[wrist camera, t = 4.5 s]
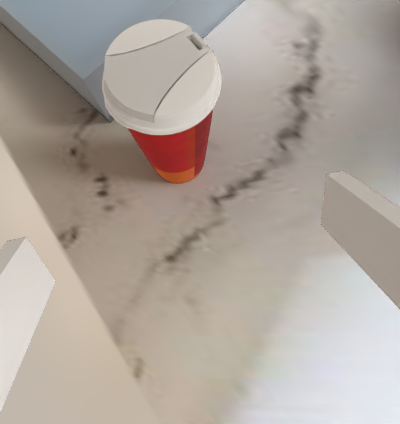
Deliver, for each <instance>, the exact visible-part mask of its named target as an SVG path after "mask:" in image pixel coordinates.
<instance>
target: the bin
mask: <svg viewBox="0 0 400 424" xmlns="http://www.w3.org/2000/svg"><path fill="white" fill-rule="evenodd" d="M244 1H245V0H0V23H1V24H2V25H3V26H4V27H5V28H7V29H8V30H9V31H10V32H11V33H12V34H13V35H14V36H15V37H17V38H18V39H19V40H20V41H21V42H22V43H23V44H24V45H25V46H26V47H28V48H29V49H30V50H31V51H32V52H33V53H34V54H35V55H36V56H38V57H39V58H40V59H41V60H42V61H43V62H44V63H45V64H46V65H47V66H49V67H50V68H51V69H52V70H53V71H54V72H55V73H56V74H57V75H59V76H60V77H61V78H62V79H63V80H64V81H65V82H66V83H67V84H68V85H70V86H71V87H72V88H73V89H74V90H75V91H76V92H77V93H78V94H80V95H81V96H82V97H83V98H84V99H85V100H86V101H87V102H88V103H89V104H91V105H92V106H93V107H94V108H95V109H96V110H97V111H98V112H99V113H101V114H102V115H103V116H104V117H105V118H106V119H107V120H108V121H109V122H111V121H112V120H114V118H113V117H112V116H111V115H110V113H109V112H108V110H107V109H106V107H105V101H104V95H103V91H102V79H103V73H104V63H105V55H106V52H107V50H108V48H109V46H110V45H111V43H112V42H113V41H114V40H115V38H116V37H118V36H119V35H120V34H121V33H122V32H123V31H125V30H126V29H128V28H129V27H131V26H133V25H135V24H138V23H141V22H144V21H148V20H156V19H168V20H174V21H178V22H181V23H184V24H186V25H188V26H190V27H191V29H192V31H193V32H194V33H195V32H196V33H197V34H198V35H199V36H200V37H201V38H202V39H203V38H204V37H205V36H206V35H207V34H208V33H209V32H210V31H212V30H213V29H214V28H215V27H216V26H217V25H218V24H219V23H220V22H221V21H223V20H224V19H225V18H226V17H227V16H228V15H229V14H230V13H231V12H233V11H234V10H235V9H236V8H237V7H238V6H239V5H240V4H241V3H242V2H244Z"/></svg>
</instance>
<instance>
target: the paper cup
mask: <svg viewBox="0 0 400 424" xmlns="http://www.w3.org/2000/svg"><path fill="white" fill-rule="evenodd" d="M221 86H222V76H221V70H220V67H219V64H218V61H217V59H216V57H215V56H214V54H213V51H212V50H210V49H209V47H208V46H207V43H206V42H205V41H204V40H203V39H202V38H201V37H200V36H199V35H198V34H197V33H196V32H195V33H194V32H193V31H192V29H191V27H190V26H188V25H186V24H184V23H181V22H178V21H174V20H168V19H156V20H148V21H144V22H141V23H138V24H135V25H133V26H131V27H129V28H128V29H126V30H125V31H123V32H122V33H121V34H120V35H119V36H118V37H116V38H115V40H114V41H113V42H112V43H111V45H110V46H109V48H108V50H107V52H106V55H105V63H104V73H103V79H102V91H103V95H104V101H105V107H106V109H107V110H108V112H109V113H110V115H111V116H112V117H113V118H114V119H115V120H116V121H117V122H118V123H119V124H121V125H122V126H123V127H126V128H128V129H129V131H130V132H131V134H132V136H133V137H134V139H135V140H136V142H137V143H138V145H139V146H140V148H141V149H142V151H143V152H144V154H145V155H146V157H147V158H148V160H149V161H150V163H151V164H152V166H153V167H154V169H155V170H156V171H157V173H158V174H159V175H160V176H161V177H162V178H164V179H165V180H167V181H169V182H172V183H185V182H188V181H190V180H192V179H194V178H195V177H196V176H197V175H198V174H199V173H200V171H201V169H202V167H203V164H204V159H205V154H206V149H207V143H208V137H209V131H210V124H211V118H212V112H213V108H214V106H215V104H216V103H217V100H218V98H219V95H220V91H221Z"/></svg>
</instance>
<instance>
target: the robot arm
mask: <svg viewBox="0 0 400 424" xmlns="http://www.w3.org/2000/svg"><path fill="white" fill-rule="evenodd" d="M321 225H322V226H323V227H324V229H325V230H326V231H327V232H328V233H329V234H330V235H331V236H332V237H333V238H334V239H335V240H336V241H337V242H338V244H339V245H340V246H341V247H342V248H343V249H344V250H345V251H346V252H347V253H348V254H349V255H350V256H351V257H352V259H353V260H354V261H355V262H356V263H357V264H358V265H359V266H360V267H361V268H362V269H363V270H364V271H365V272H366V274H367V275H368V276H369V277H370V278H371V279H372V280H373V281H374V282H375V283H376V284H377V285H378V286H379V287H380V289H381V290H382V291H383V292H384V293H385V294H386V295H387V296H388V297H389V298H390V299H391V300H392V301H393V302H394V304H395V305H396V306H397V307H398V308H399V309H400V207H398V206H397V205H395V204H394V203H392V202H391V201H389V200H388V199H386V198H385V197H383V196H382V195H380V194H378V193H377V192H375V191H374V190H372V189H371V188H369V187H368V186H366V185H365V184H363V183H362V182H360V181H359V180H357V179H356V178H354V177H353V176H351V175H350V174H348V173H346V172H345V171H339V172H334V173H329V174H327V175H326V184H325V192H324V200H323V209H322V217H321ZM55 282H56V281H55V280H54V279H53V277H52V276H51V274H50V273H49V271H48V269H47V268H46V266H45V265H44V263H43V262H42V260H41V259H40V257H39V256H38V254H37V253H36V251H35V250H34V248H33V247H32V245H31V244H30V242H29V241H28V239H27V238H26V237H24V238H19V239H14V240H9V241H7V242H6V244H5V245H4V247H3V248H2V249H1V250H0V412H1V410H2V408H3V405H4V403H5V400H6V398H7V396H8V393H9V391H10V389H11V386H12V384H13V382H14V379H15V377H16V375H17V372H18V370H19V367H20V365H21V363H22V360H23V358H24V355H25V353H26V351H27V348H28V346H29V344H30V341H31V339H32V337H33V334H34V332H35V330H36V327H37V325H38V323H39V320H40V318H41V315H42V313H43V310H44V308H45V306H46V303H47V301H48V299H49V296H50V294H51V292H52V289H53V287H54V285H55Z"/></svg>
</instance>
